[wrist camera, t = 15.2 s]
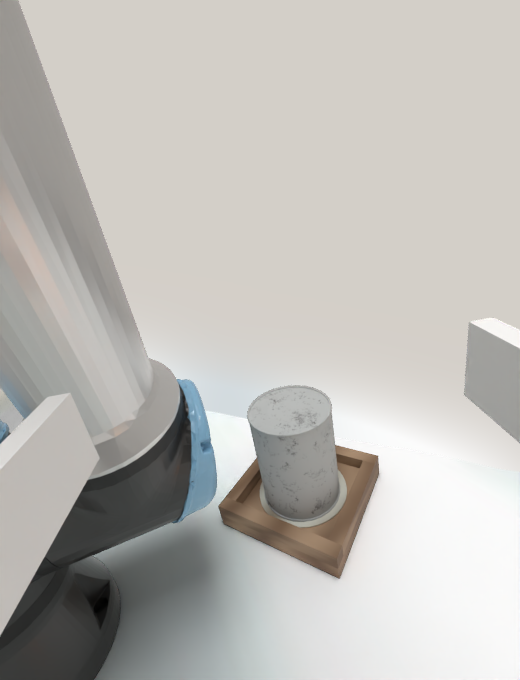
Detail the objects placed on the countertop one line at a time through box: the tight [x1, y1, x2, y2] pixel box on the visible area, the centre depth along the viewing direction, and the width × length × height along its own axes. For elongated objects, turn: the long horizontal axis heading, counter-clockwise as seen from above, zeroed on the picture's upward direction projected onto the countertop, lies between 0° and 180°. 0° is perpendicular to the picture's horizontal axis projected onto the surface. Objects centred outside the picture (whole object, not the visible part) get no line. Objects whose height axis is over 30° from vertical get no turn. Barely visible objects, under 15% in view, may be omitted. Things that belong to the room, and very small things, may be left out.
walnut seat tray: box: [219, 445, 379, 579], centre depth 43 cm, size 15×15×3 cm
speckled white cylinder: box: [247, 385, 340, 522], centre depth 41 cm, size 10×10×12 cm
